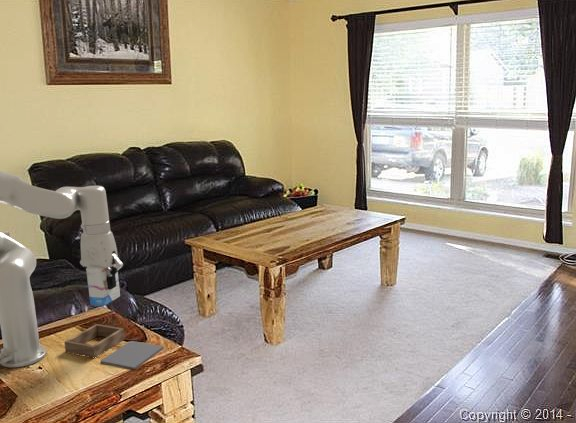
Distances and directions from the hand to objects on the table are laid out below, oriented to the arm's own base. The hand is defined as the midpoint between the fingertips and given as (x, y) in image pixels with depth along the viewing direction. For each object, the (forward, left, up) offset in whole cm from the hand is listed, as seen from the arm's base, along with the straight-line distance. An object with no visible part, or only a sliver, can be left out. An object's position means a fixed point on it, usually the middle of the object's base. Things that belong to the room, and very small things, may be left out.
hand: (104, 286), depth 166 cm
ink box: (0, 0, -5) cm, 5 cm away
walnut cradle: (0, +5, -20) cm, 21 cm away
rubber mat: (-2, -10, -20) cm, 22 cm away
